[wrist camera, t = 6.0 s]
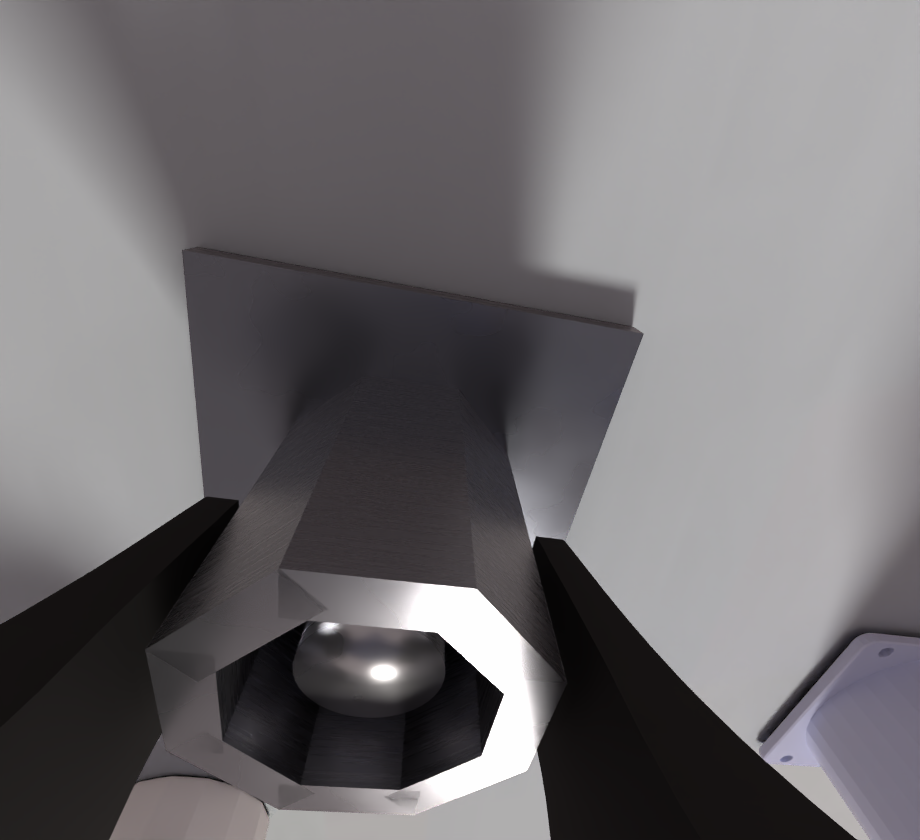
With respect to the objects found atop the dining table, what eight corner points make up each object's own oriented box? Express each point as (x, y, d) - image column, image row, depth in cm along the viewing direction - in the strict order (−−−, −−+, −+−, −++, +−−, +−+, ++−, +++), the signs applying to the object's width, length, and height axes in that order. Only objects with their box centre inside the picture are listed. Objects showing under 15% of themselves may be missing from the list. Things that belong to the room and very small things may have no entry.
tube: (522, 399, 11) (605, 602, 5) (478, 563, 13) (504, 819, 8) (294, 364, 10) (125, 552, 5) (291, 542, 12) (176, 804, 7)
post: (633, 327, 11) (819, 449, 5) (528, 612, 15) (575, 833, 10) (197, 246, 9) (-105, 304, 4) (222, 582, 14) (89, 813, 9)
